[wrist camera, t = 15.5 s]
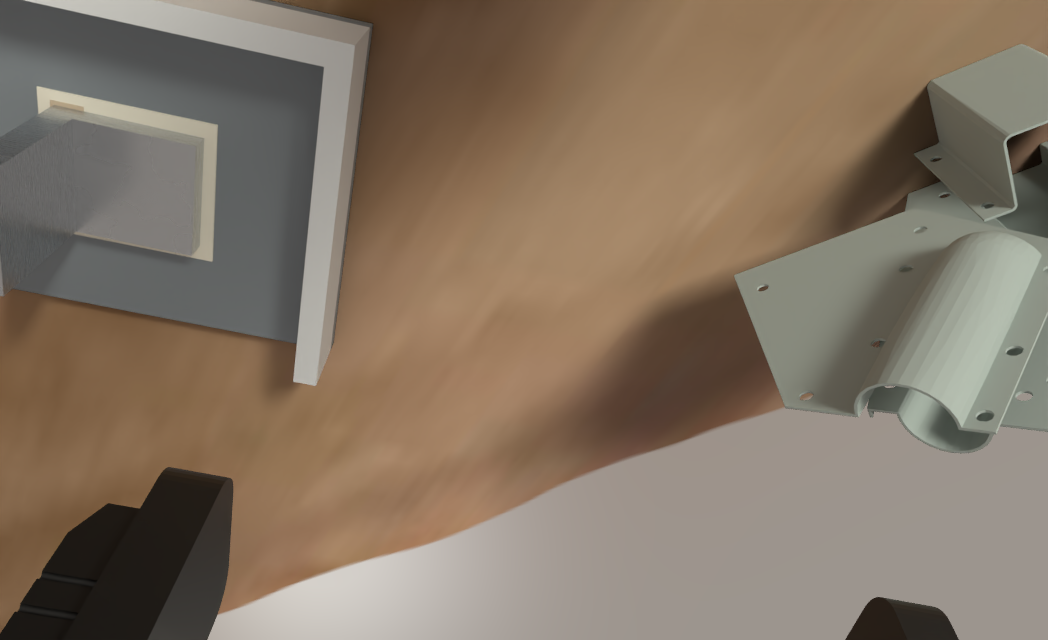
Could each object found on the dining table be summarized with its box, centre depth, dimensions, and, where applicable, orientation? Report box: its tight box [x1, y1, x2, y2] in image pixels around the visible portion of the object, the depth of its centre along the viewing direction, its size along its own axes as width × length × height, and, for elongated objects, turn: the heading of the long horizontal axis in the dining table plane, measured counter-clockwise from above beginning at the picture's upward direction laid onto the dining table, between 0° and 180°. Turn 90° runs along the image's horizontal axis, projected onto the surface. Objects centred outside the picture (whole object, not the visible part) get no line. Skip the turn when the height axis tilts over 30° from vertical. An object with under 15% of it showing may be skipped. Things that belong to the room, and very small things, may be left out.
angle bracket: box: [0, 105, 204, 296], centre depth 40 cm, size 7×6×8 cm
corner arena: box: [0, 0, 373, 386], centre depth 42 cm, size 18×20×4 cm
